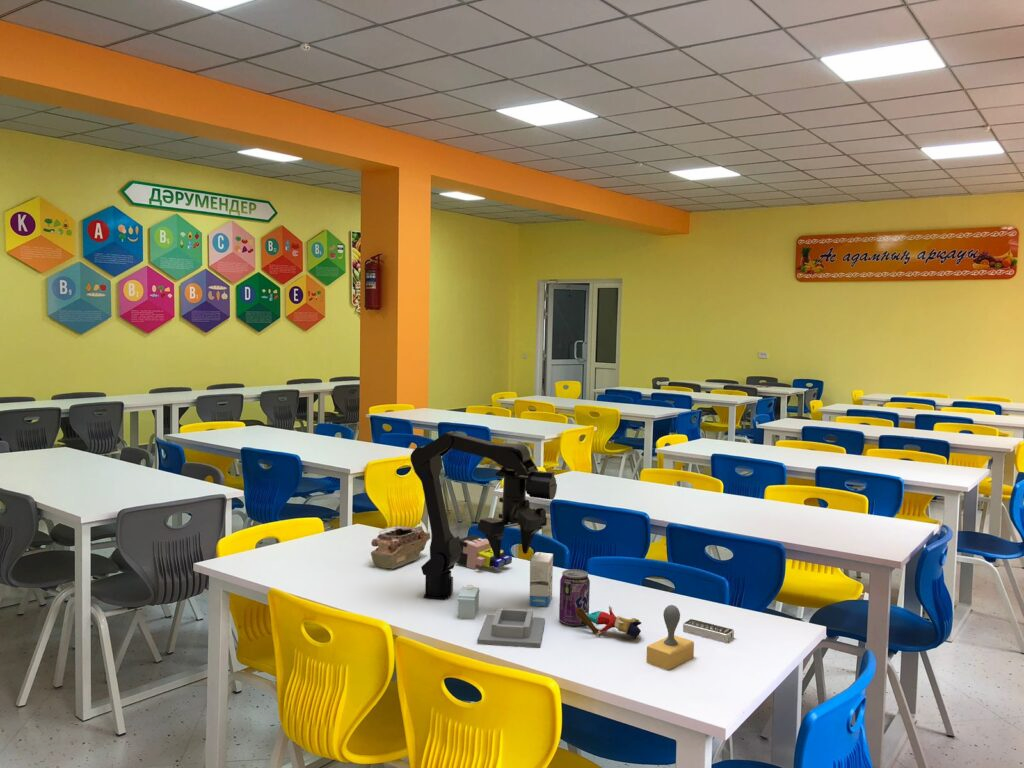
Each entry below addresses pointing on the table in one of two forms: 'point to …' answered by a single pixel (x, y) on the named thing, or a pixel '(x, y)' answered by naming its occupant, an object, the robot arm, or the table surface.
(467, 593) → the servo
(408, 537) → the decorative box
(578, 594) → the beverage can
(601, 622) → the toy
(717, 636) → the multiport hub
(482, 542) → the toy
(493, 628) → the grey socket base
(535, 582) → the ink box
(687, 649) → the rubber stamp
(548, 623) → the table surface
